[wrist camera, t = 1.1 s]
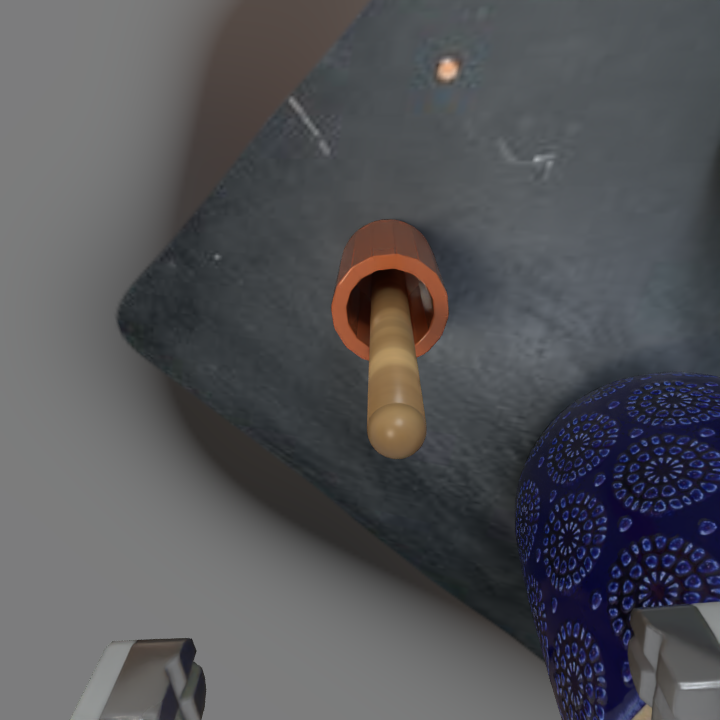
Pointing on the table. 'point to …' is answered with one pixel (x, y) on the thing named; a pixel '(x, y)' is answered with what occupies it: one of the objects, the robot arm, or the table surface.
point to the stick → (393, 371)
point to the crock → (381, 252)
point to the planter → (618, 529)
